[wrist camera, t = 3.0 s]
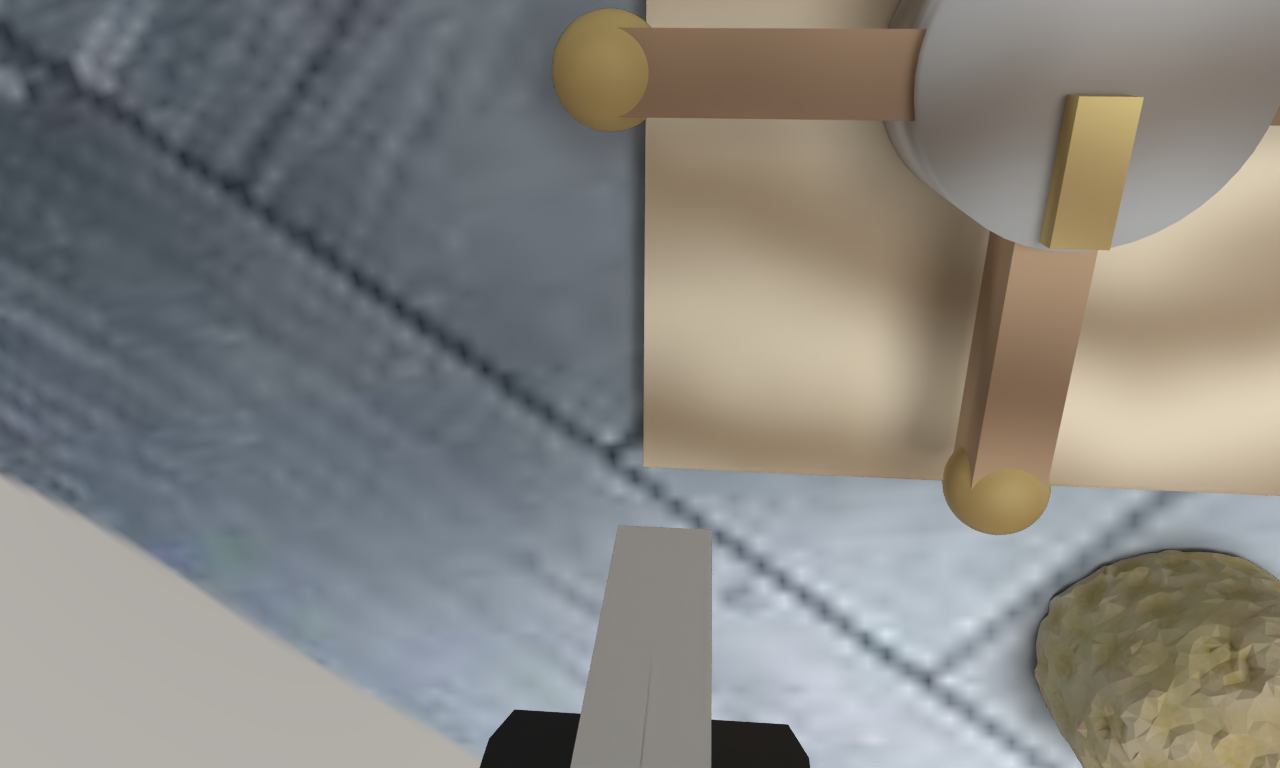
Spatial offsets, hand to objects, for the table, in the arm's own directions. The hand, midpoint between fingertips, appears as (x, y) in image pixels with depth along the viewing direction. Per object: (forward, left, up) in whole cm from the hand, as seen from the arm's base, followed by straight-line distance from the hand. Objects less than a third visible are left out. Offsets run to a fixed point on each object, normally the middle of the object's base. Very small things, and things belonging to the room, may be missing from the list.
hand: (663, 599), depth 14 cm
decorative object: (+11, +17, -14) cm, 25 cm away
